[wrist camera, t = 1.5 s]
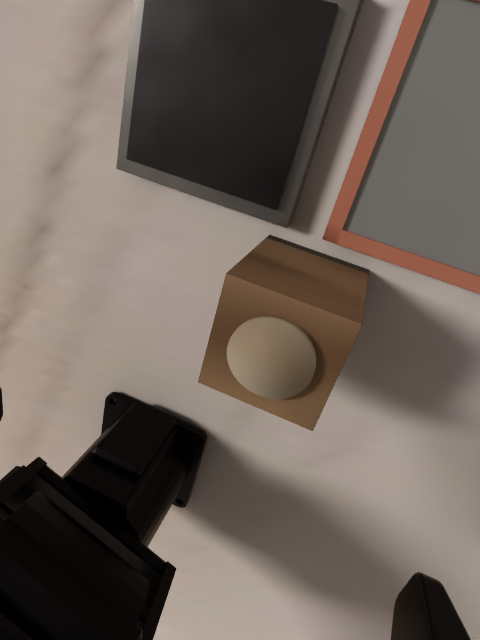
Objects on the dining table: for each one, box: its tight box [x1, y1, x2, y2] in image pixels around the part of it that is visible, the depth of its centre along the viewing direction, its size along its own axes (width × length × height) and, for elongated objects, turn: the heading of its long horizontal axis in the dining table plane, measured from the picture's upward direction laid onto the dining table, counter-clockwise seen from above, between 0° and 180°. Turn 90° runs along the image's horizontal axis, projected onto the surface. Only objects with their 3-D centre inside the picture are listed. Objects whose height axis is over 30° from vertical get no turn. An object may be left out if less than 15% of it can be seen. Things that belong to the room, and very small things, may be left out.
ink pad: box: [116, 0, 363, 228], centre depth 16 cm, size 8×8×1 cm
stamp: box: [198, 235, 369, 431], centre depth 16 cm, size 4×4×6 cm
